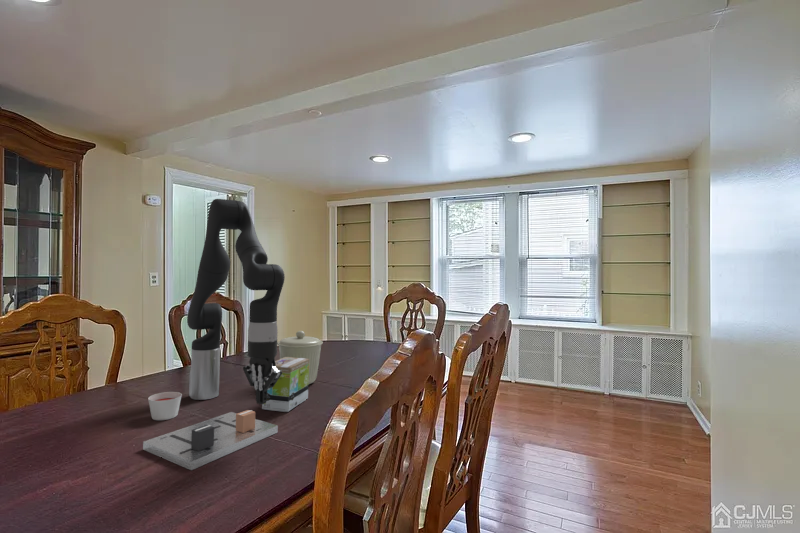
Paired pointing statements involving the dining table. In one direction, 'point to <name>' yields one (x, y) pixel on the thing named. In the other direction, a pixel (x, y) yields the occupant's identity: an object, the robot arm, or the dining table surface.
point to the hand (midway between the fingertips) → (261, 403)
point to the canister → (302, 351)
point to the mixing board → (225, 442)
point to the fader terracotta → (245, 421)
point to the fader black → (202, 437)
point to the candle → (164, 405)
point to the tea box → (289, 385)
